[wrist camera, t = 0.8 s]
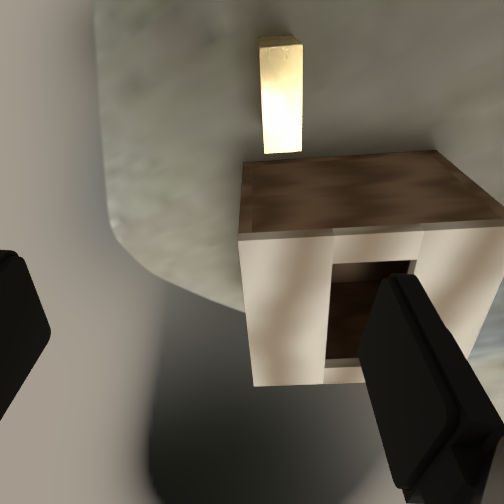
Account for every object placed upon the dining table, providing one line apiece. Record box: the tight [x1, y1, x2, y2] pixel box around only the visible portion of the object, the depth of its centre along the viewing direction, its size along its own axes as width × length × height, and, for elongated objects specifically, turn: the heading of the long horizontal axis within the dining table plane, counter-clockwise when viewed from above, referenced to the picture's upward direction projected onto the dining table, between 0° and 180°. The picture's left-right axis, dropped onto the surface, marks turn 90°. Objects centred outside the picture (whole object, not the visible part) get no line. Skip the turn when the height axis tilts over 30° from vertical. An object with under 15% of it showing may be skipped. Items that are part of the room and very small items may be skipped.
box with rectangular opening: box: [238, 150, 504, 386], centre depth 29 cm, size 16×14×12 cm
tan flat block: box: [258, 35, 303, 154], centre depth 24 cm, size 2×6×6 cm, turn 4°
